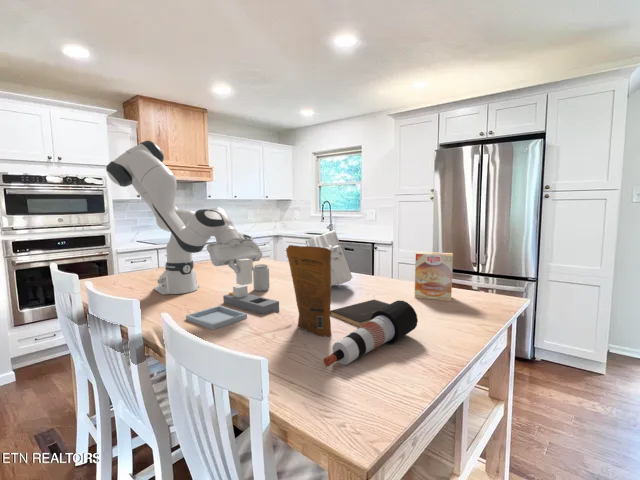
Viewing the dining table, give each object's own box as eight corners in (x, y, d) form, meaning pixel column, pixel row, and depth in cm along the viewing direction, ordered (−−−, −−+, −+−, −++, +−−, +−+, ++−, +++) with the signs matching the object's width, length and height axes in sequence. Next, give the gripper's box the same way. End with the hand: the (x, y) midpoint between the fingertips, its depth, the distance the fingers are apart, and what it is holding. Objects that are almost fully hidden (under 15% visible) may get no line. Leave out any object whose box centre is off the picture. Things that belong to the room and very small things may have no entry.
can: (266, 292, 158) (265, 266, 157) (251, 291, 160) (250, 266, 158) (271, 288, 165) (271, 263, 164) (257, 287, 167) (256, 263, 166)
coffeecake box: (414, 297, 147) (415, 253, 145) (416, 293, 154) (417, 251, 151) (451, 301, 141) (452, 255, 139) (451, 296, 148) (453, 252, 146)
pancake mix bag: (324, 341, 102) (323, 249, 99) (285, 325, 116) (284, 243, 113) (339, 335, 106) (339, 247, 103) (301, 320, 120) (299, 242, 117)
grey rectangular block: (236, 283, 125) (236, 259, 124) (246, 281, 128) (246, 258, 127) (241, 285, 122) (241, 260, 121) (252, 283, 125) (251, 259, 125)
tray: (186, 322, 119) (185, 315, 119) (220, 311, 130) (219, 305, 130) (213, 332, 109) (212, 325, 109) (247, 320, 120) (246, 313, 120)
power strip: (223, 305, 139) (222, 286, 138) (239, 300, 145) (238, 282, 144) (263, 317, 124) (263, 295, 123) (279, 311, 130) (278, 291, 129)
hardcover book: (404, 314, 127) (404, 308, 127) (359, 328, 113) (359, 321, 113) (373, 304, 140) (373, 299, 140) (329, 316, 126) (329, 310, 126)
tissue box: (355, 285, 158) (336, 233, 156) (321, 297, 159) (302, 245, 156) (351, 275, 179) (335, 229, 177) (322, 286, 180) (305, 240, 177)
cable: (322, 384, 87) (307, 346, 88) (398, 334, 109) (384, 304, 111) (347, 380, 79) (330, 339, 81) (423, 328, 102) (408, 296, 104)
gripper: (207, 238, 121) (222, 268, 115) (255, 235, 136) (270, 262, 130) (202, 250, 124) (216, 280, 118) (249, 246, 139) (263, 272, 133)
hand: (245, 270), depth 124 cm, fingers closed on grey rectangular block, 4 cm apart
